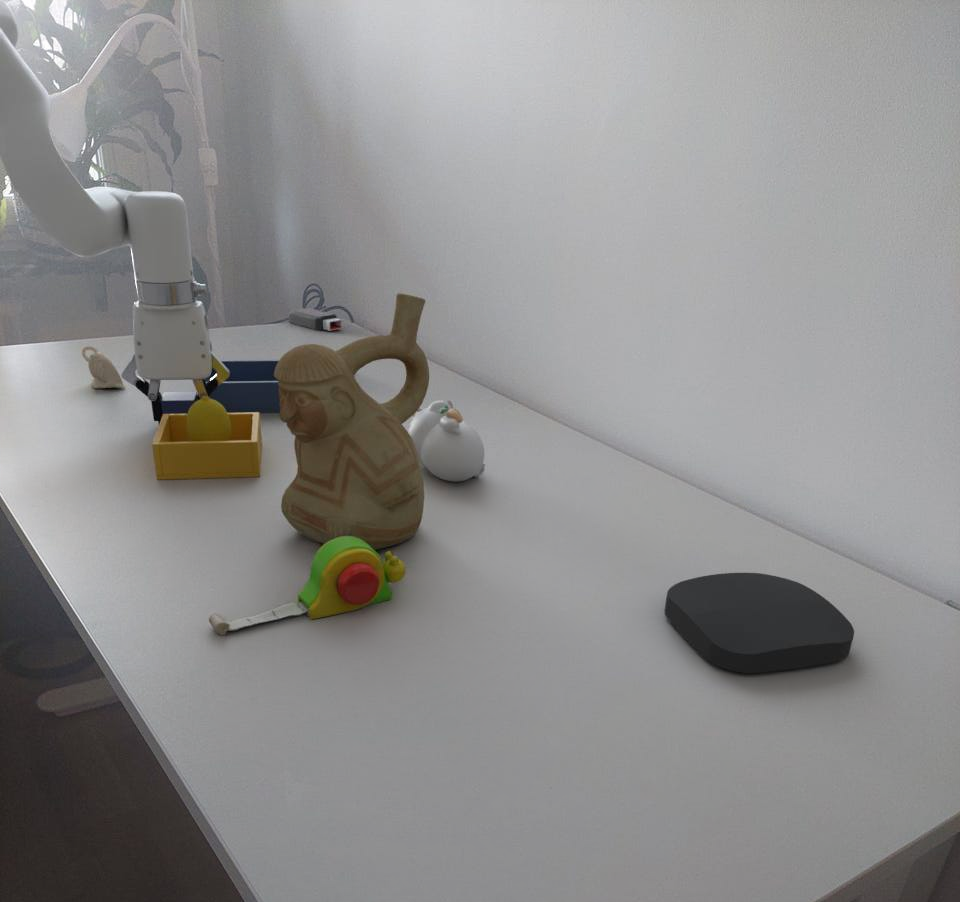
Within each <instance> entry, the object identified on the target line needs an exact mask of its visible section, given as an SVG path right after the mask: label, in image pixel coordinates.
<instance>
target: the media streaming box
mask: <svg viewBox="0 0 960 902" xmlns="http://www.w3.org/2000/svg"><path fill="white" fill-rule="evenodd" d="M664 615H665V617H666V618H667V620H669V621H670V623H671V624H672V626H673V627H674V628H675V629H676V630H677V632H679V633H680V634H681V635H682V636H683V637H684V639H685V640H686V641H687V642H688V643H689V644H690V645H691V646H692V647H693V648H694V649H695V650H696V651H697V652H699V654H700V655H702V657H704V658H705V659H706V660H707V661H708V662H710V663H711V664H713V665H715V666H717V667H719V668H722V669H725V670H729V671H731V672H737V673H743V674H759V673H760V674H761V673H769V672H779V671H786V670H794V669H803V668H808V667H815V666H820V665H821V666H823V665H827V664H833V663H837V662H838V663H839V662H842V661H843V660H844V659H846V658H848V656H849V655H850V651H851V647H852V645H853V644H852V643H853V639H854V636H855V630H854V627H853V625H852V623H851V622H850V621H849V619H848V618H847V617H846V616H845V615H844V614H843V613H842V612H841V611H840V610H839V608H837V607H836V606H835V605H834V604H832V603H831V602H830V601H829V600H827V599H826V598H825V597H824V596H823V595H821V594H820V593H818V592H817V591H815V590H813V589H812V588H810V587H808V586H806V585H805V584H802V583H801V582H798V581H795V580H792V579H789V578H786V577H781V576H776V575H771V574H766V573H759V572H725V573H715V574H709V575H703V576H698V577H693V578H689V579H685V580H682V581H680V582H677V583H675V584H673V585H672V586H670V587H669V589H668V590H667V592H666V598H665V605H664Z"/></svg>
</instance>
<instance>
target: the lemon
mask: <svg viewBox="0 0 960 902" xmlns="http://www.w3.org/2000/svg"><path fill="white" fill-rule="evenodd" d="M187 433H188V437H189V439H190V441H191V442H192V441H229V440H230V437H231V423H230V419H229V416H228V413H227V411H226V410H225V408H224V407H223V406H222V405H221V404H220V403H219V402H217V401H216V400H213V399H210V398H209V397H208V396H204V397H203V398H202V399H200V400H198V401H196V402H195V403H194V404H193V405H192V406H191V407H190V409H189V411H188V415H187Z"/></svg>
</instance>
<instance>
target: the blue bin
mask: <svg viewBox="0 0 960 902" xmlns="http://www.w3.org/2000/svg"><path fill="white" fill-rule="evenodd" d="M219 360H220V361H221V362H222V363H223V364H224V365H225V366H226V368H227V369H228V370H229V371H230V376H229V377H228V378H227V379H226V380H225V381H224V382H222V383H221V384H220V385H219V386H218V387H217V388H216V389H215V390H214V391H213V392H212V393H211V394H210V396H209V398H210V399H213V400H216V401H217V402H219V403H220V404H221V405H222V406H223V407H224V408H225V410H226V411H227V413H245V412H253V413H254V412H259V414H263V413H264V414H267V413H268V414H269V413H275V414H276V413H280V410H281V408H280V396H279V385H278V380H277V379H276V378H275V377H274V371H275V368H276V365H277V363H278V362H279V360H280V359H219ZM216 374H217V372H216V370H215V369H214V368H212V372H211V375H210V376H209V377H207V378H204V379H205V381H206V383H207V382H208V381H209V380H210V379H211V378H212V377H214V376H215V375H216Z"/></svg>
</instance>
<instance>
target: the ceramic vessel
mask: <svg viewBox="0 0 960 902" xmlns="http://www.w3.org/2000/svg"><path fill="white" fill-rule="evenodd" d="M425 304H426V299H424V298H423V297H418V296H414V295H410V294H405V293H401V292H400V293H397V294H396V296H395V306H394V307H395V309H394V314H393V320H392V321H393V322H392V326H391V331H390V333H389V334H378V335H371V336H367V337H363V338H360V339H357V340H354V341H351V342H350V343H348V344H346V345H344V346H342V347H340V348H339V349H337V350H333V348H331V347H328V346H326V345H324V344H319V343H306V344H301V345H298V346H295V347H293V348H291V349H289V350H288V351H286V353H284V354H283V355H282V356H281V357H280V358H279V359H278V360H279V362H278V363H277V365H276V368H275V371H274V377H275V378H276V379H277V380H278V385H279V396H280V408H281V410H280V412H279V413H278V414H279V418H280V420H281V421H282V422H283V423H286V427H287V429H288V430H289V431H290V433H291V435H292V436H294V440H293V443H294V453H295V458H296V459H295V460H296V464H297V472H296V474H295V477H294V479H292V481H291V482H290V484H289V485H288V486H287V488H286V489H285V490H284V493H283V495H282V497H281V505H280V508H281V513H282V515H283V516H284V518H285V520H287V522H288V524H289V525H290V526H292V528H294V529H295V530H296V531H297V532H299V534H302V535H303V536H304V537H307V538H309V539H311V540H313V541H315V542H317V543H319V544H322V545H324V544H325V543H327V542H328V541H330V540H332V539H335V538H337V537H342V536H353V537H357V538H359V539H361V540H363V541H364V542H366V543H367V544H368V545H369V546H370V547H371V548H372V549H373V550H374V551H376V550H381V549H385V548H389V547H393V546H396V545H398V544H401V543H403V542H406V541H408V540H409V539H411V538H412V537H413V536H414V535H415V534H416V533H417V532H418V530H419V528H420V525H421V522H422V519H423V514H424V506H425V505H424V503H425V486H424V478H423V471H422V467H421V466H422V465H421V463H420V461H419V457H418V453H417V450H416V447H415V445H414V442H413V440H412V438H411V436H410V435H409V433H408V430H407V429H406V428H405V426H404V425H403V424H404V423H405V422H407V421H408V420H409V419H410V418H411V417H413V414H415V413H416V411H417V410H418V409H419V407H420V408H421V406H422V404H423V402H424V401H425V398H426V395H427V392H428V388H429V385H430V368H429V367H430V366H429V363H428V359H427V356H426V355H425V352H424V350H423V349H422V348H421V346H420V345H419V344H418V343H417V337H418V331H419V326H420V322H421V318H422V313H423V311H424V307H425ZM389 359H390V360H397V361H400V362H401V363H403V365H404V367H405V373H406V375H405V380H404V381H405V382H404V384H403V385H402V388H401V389H400V390H399V392H398V393H397V394H396V395H395V396H394V397H393V398H391V399H389V400H388V401H385V402H381V403H379V402H378V401H377V400H375V399H374V398H373V397H372V396H370V395H369V394H368V393H367V392H366V391H365V390H364V389H363V388H362V387H361V386H360V385H359V383H358V381H357V380H356V378H355V377H356V376H355V375H356V373H358V371H360V370H361V369H362V368H363V367H365V366H366V365H368V364H370V363H373V362H376V361H380V360H389Z"/></svg>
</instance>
